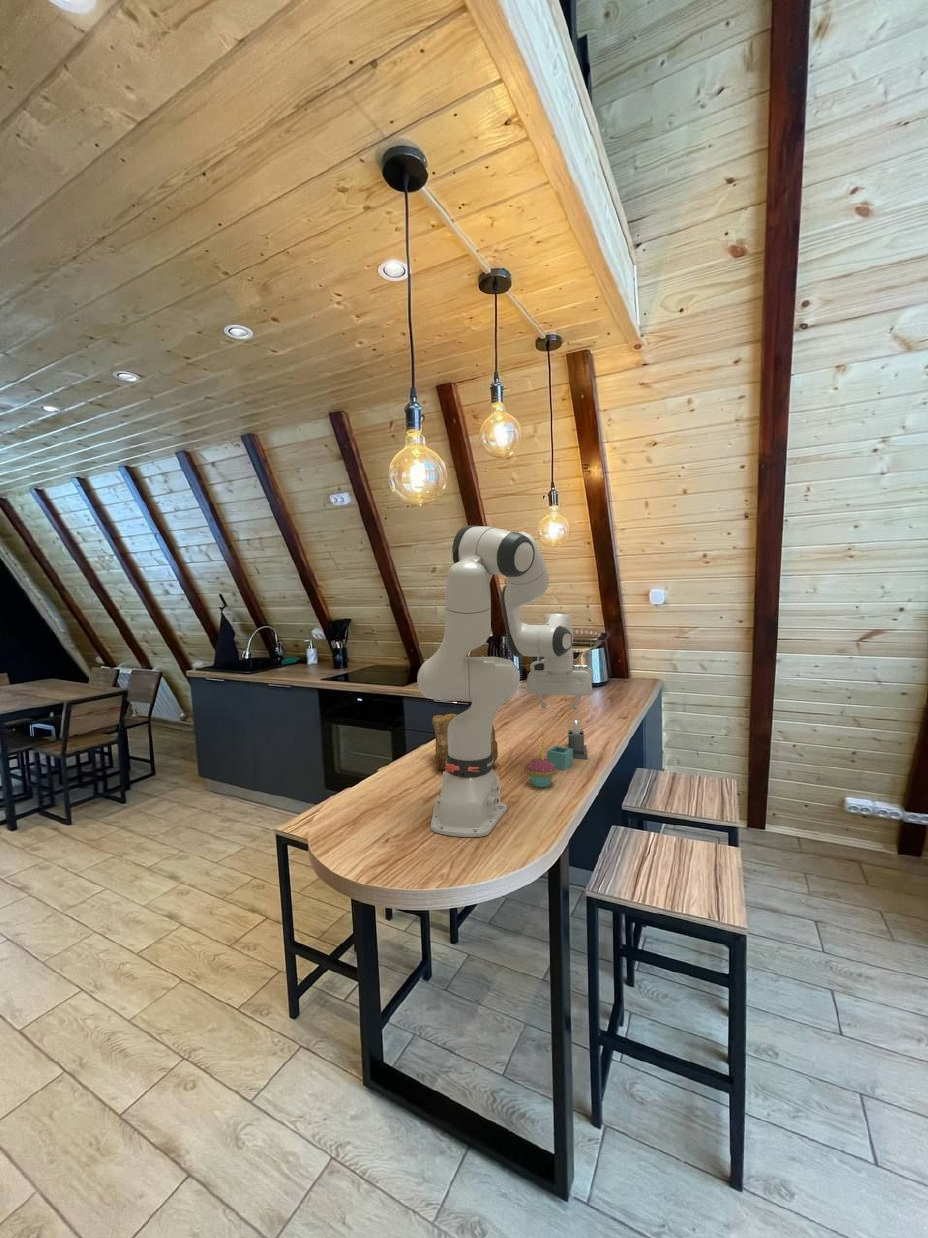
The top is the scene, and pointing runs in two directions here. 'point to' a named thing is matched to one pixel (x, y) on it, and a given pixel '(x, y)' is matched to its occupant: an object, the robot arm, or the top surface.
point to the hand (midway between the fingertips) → (559, 708)
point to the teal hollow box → (560, 757)
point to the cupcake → (541, 771)
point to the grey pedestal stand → (577, 741)
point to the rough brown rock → (442, 739)
